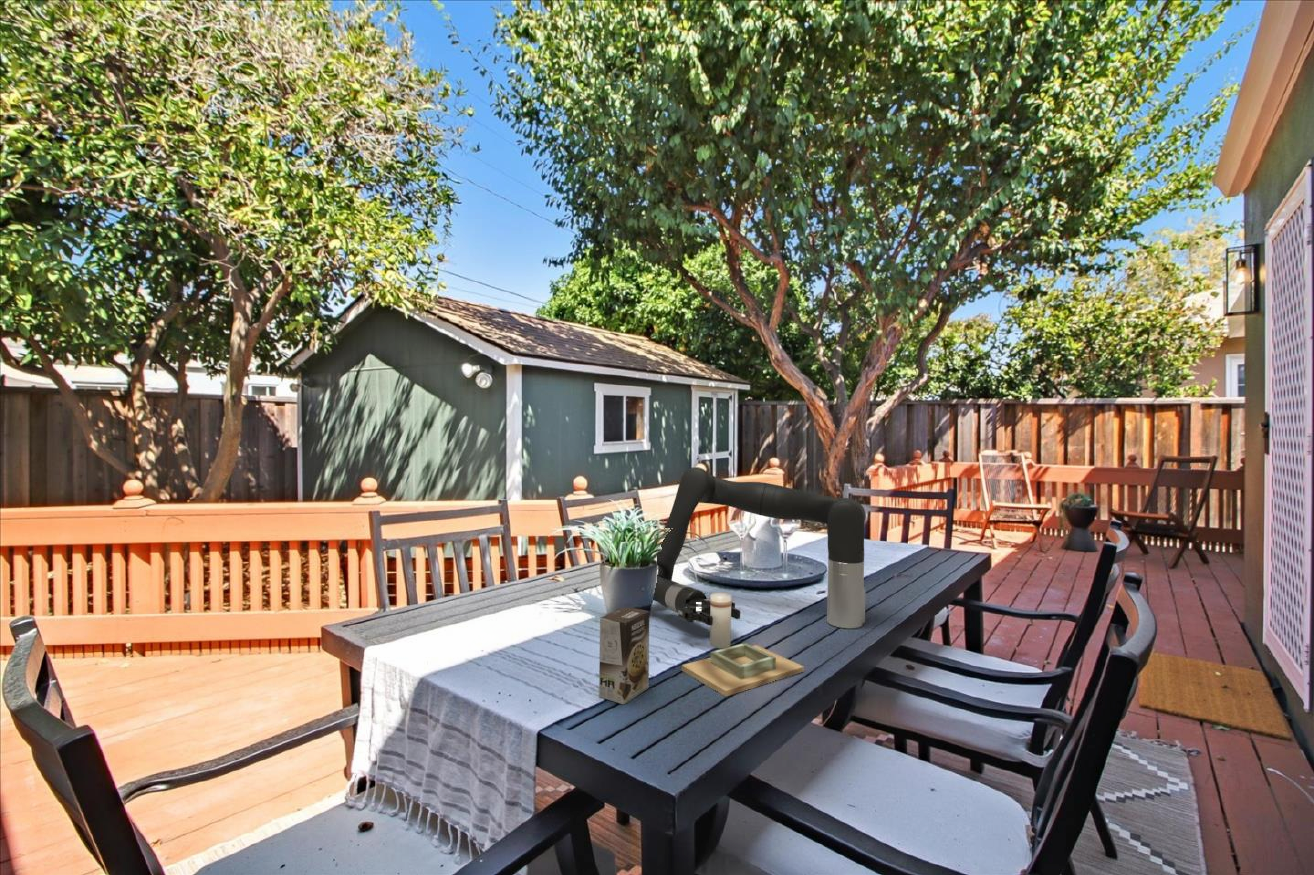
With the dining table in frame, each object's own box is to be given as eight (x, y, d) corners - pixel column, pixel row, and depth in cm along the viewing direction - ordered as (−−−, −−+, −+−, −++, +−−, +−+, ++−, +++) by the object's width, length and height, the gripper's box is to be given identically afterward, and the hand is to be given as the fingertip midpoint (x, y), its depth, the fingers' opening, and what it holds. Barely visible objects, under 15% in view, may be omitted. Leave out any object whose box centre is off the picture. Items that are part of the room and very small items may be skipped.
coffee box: (624, 705, 123) (625, 623, 122) (598, 697, 126) (598, 617, 125) (650, 688, 131) (650, 610, 130) (624, 680, 134) (624, 605, 133)
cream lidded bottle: (721, 639, 159) (722, 591, 158) (735, 645, 154) (736, 596, 154) (705, 643, 156) (705, 594, 155) (718, 650, 151) (719, 600, 151)
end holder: (756, 650, 152) (756, 634, 151) (803, 672, 139) (804, 655, 139) (681, 670, 139) (681, 653, 139) (725, 696, 127) (726, 678, 127)
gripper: (663, 590, 162) (702, 607, 149) (707, 582, 170) (748, 598, 157) (663, 619, 163) (702, 639, 149) (707, 610, 171) (747, 628, 157)
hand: (725, 618), depth 153 cm, fingers open, 8 cm apart
